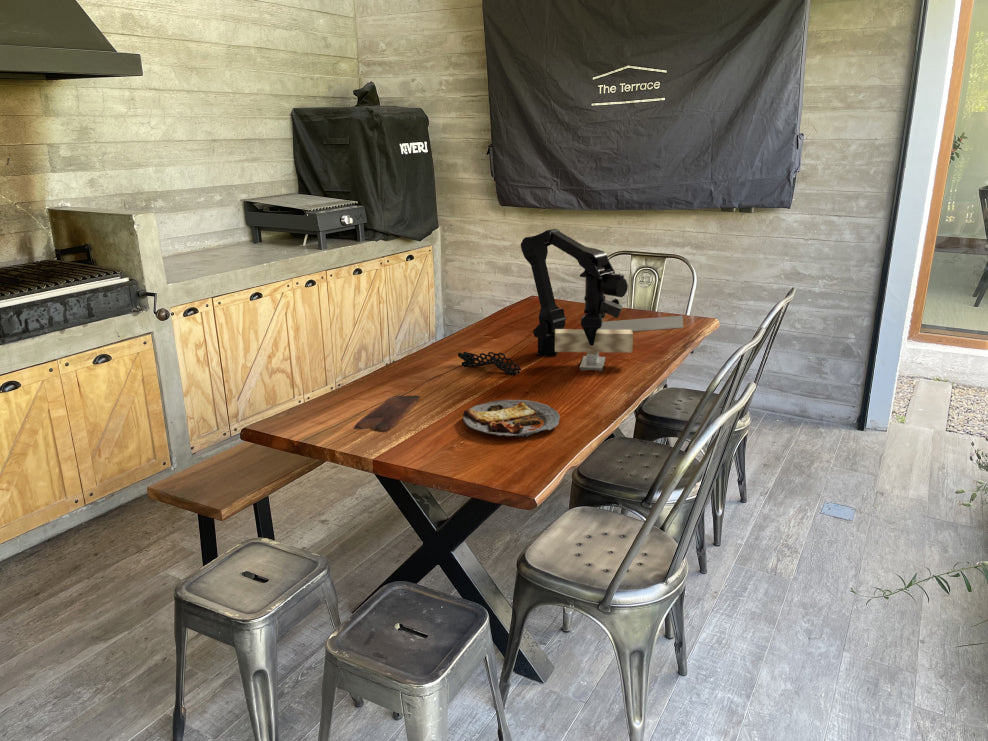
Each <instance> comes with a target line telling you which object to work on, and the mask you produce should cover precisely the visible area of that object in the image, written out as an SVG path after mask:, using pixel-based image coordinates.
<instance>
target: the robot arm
mask: <svg viewBox="0 0 988 741" xmlns="http://www.w3.org/2000/svg"><path fill="white" fill-rule="evenodd" d="M550 246H554V247H556V248H557V249H559V250H561V251H562V252H563V253H566V254H568V255H569V256H571V257H572V258H574V259H575V260H576V261H577V263H578V265H579V266H581V267H582V269H583V272H581V273H580V274H579V277H580V278H585V286H584V288H585V290H584V291H585V293H584V294H585V295H584V310H583V313H584V315H583V316H582V317H581V319H580V326H581V328H582V329H583V330H584V332H585V334H586V337H587V339H588V342H589V344H590V345H591V346H593V345H594V341H595V337H596V332H597V330H598V329H599V328H601V326H602V322H603V319H604V318H605V316H606V314H607V315H609V316H611V317H613V318H615V319H618V318H619V317H620V314H621V312H622V310H623V306H622V304H620V299H618V298H624V297H625V295H627V292H628V287H629V285H628V282H627V279H625V275H624V274H623V273H616V271H615V270H614V268H613V266H612V264H611V262H610V260H609V258H608V254H607V252H605V251H604V250H601V249H598V248H593V247H590V246H589V247H588V246H585V245H584V244H582V243H581V242H579V241H577V240H575V239H573V238H571V237H570V236H568V235H566V234H564V233H563V232H562V231H560V230H559V229H558V228H550V229H546V230H545V231H543V232H541V233H538V234H536V235H533V236H532V235H531V236H525V237H524V238H523V239H522V241H521V242H520V249H521V252H522V255H523V257H524V259H525V260H526V261H527V262H528V264H530V267H531V271H532V275H533V276H532V277H533V281H534V283H535V284H534V285H535V288H536V293H537V297H538V301H539V305H540V309H539V314H538V325H536V327H535V328H534V329H533V330H532V332H533V336H534V337H535V338H537V352H536V355H537V356H542V357H543V356H546V357H547V356H548V357H556V356H558V354H559V352H555V329H565V326H566V323H567V322H566V320H567V318H566V316H565V309H564V308H563V307H561V308H560V306H558V305H557V303H556V300H555V296H554V292H553V288H552V282H551V279H550V274H549V271H548V266H547V258H548V257H547V256H548V253H549V250H548V247H550ZM606 296H610V297H616V298H613V299H612V300H608V299H606ZM617 297H618V298H617Z"/></svg>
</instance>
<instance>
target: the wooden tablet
mask: <svg viewBox="0 0 988 741" xmlns="http://www.w3.org/2000/svg"><path fill="white" fill-rule="evenodd" d="M420 398H421V396H420V395H394V396H392V397H390V398H388V399H386V400H385V401H384V402H383V403H381V404H379V405H378V406H377V407H375V408H373V409H372V410H371V411H370V412H368V413H367V414H366V415H365V416H363V417H362V418H361V419H360V420H358V421H357V422H356V424H355V425H354V429H355V430H367V429H369V430H371V431H374V432H381V433H383V432H385V433H386V432H388V431H389V430H391V429H392V428H393V427H394V426H396V425H397V424H398V423H399V422H400V421H401V420H402V419H403V418H404V417H405V416H406V415H407V414H408V413H409V412H410V410H412V408H413V407H414V406H415V405H416V404H417V403H418V402H419V401H420Z"/></svg>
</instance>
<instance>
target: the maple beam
mask: <svg viewBox="0 0 988 741" xmlns="http://www.w3.org/2000/svg"><path fill="white" fill-rule="evenodd" d="M633 340H634V333H633V332H632V330H609V329H598V330H597V332H596V337H595V341H594V345H593V346H591V345H590V344H589V342H588V339H587V337H586V334H585V332H584V330H583V328H582V329H581V328H576V329H573V328H570V329H569V328H563V329H555V352H558V353H587V352H599V353H633V342H634V341H633Z"/></svg>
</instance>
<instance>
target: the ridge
mask: <svg viewBox="0 0 988 741" xmlns="http://www.w3.org/2000/svg"><path fill="white" fill-rule="evenodd" d="M605 363H606V356H600V352H586V355H583V357H582V360H581V363H580V365H579V370H580V369H581V370H580V371H585V370H599V371H598V372H603V370H604V367H603V366H605Z"/></svg>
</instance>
